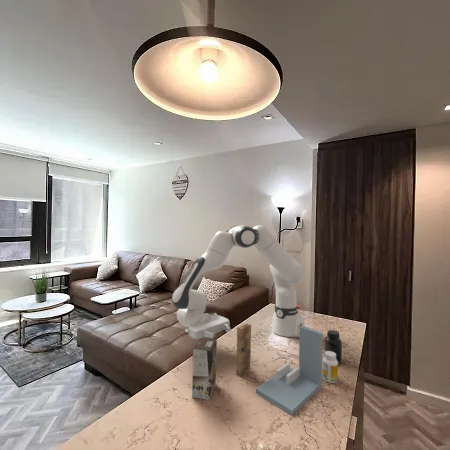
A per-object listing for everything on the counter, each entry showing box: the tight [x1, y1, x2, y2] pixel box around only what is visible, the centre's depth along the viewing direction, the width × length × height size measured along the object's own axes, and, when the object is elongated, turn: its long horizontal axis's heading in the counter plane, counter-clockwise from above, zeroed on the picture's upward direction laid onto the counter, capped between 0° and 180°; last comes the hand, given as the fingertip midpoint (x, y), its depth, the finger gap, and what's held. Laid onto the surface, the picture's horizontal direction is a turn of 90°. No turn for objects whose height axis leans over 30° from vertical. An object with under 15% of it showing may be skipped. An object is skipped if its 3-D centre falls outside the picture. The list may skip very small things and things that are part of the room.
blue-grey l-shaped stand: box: [255, 326, 324, 416], centre depth 88 cm, size 20×14×20 cm
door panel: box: [235, 323, 252, 377], centre depth 98 cm, size 6×3×18 cm, turn 134°
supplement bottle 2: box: [322, 350, 339, 384], centre depth 95 cm, size 5×5×10 cm
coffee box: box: [191, 337, 218, 401], centre depth 87 cm, size 9×6×16 cm
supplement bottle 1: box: [324, 329, 343, 364], centre depth 109 cm, size 7×7×12 cm
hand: (221, 333), depth 107 cm, fingers open, 8 cm apart
